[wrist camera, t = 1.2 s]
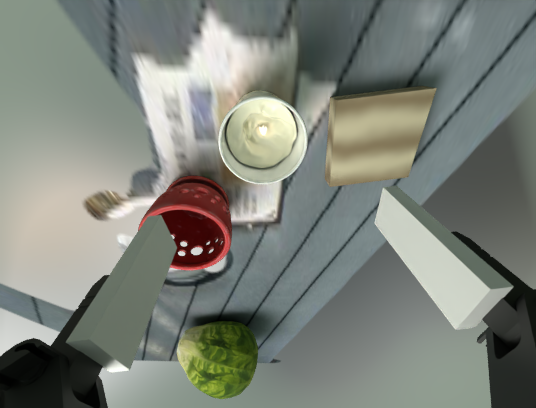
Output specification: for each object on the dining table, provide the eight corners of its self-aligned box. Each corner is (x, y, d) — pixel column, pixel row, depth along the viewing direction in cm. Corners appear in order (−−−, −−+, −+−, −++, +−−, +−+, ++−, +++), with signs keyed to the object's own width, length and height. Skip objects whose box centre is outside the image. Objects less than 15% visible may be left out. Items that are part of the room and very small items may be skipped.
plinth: (330, 97, 32) (336, 100, 29) (422, 85, 32) (436, 88, 29) (324, 178, 40) (329, 186, 37) (398, 169, 40) (408, 177, 37)
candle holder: (299, 95, 31) (322, 112, 21) (279, 156, 36) (290, 192, 27) (234, 74, 29) (227, 81, 19) (222, 141, 34) (211, 174, 25)
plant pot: (224, 230, 45) (217, 278, 36) (160, 214, 42) (133, 262, 32) (244, 180, 39) (242, 222, 29) (170, 156, 35) (139, 194, 25)
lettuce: (195, 299, 60) (161, 380, 46) (271, 322, 63) (259, 405, 49) (189, 318, 72) (161, 386, 59) (252, 337, 75) (239, 406, 62)
